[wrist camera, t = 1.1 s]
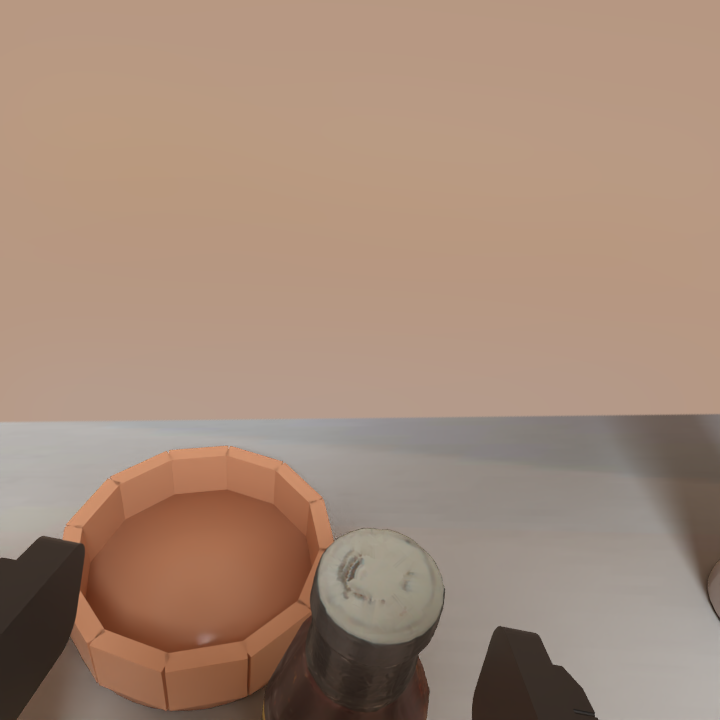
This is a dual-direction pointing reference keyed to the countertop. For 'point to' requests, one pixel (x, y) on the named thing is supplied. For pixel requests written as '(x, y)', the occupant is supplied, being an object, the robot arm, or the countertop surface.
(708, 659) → the countertop surface
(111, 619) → the terracotta bowl
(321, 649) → the sauce bottle
